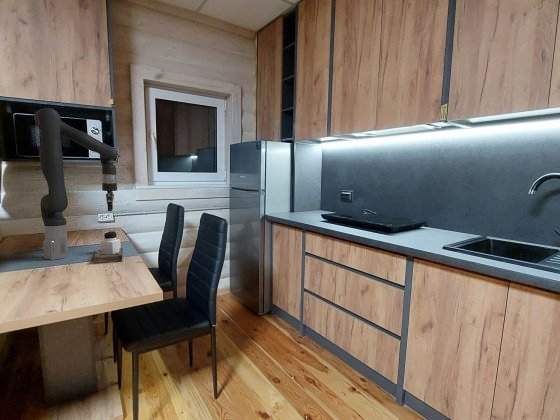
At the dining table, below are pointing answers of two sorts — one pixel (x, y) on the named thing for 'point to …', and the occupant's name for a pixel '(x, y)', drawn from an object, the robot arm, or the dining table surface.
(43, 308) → the dining table surface
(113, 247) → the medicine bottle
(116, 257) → the u rest
